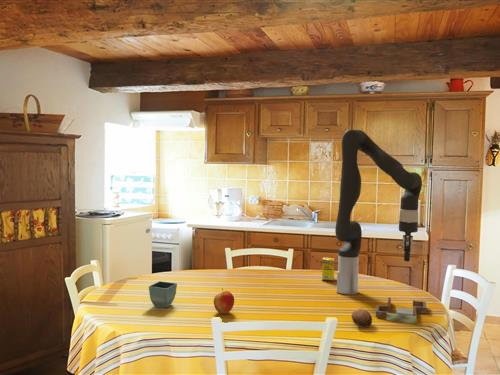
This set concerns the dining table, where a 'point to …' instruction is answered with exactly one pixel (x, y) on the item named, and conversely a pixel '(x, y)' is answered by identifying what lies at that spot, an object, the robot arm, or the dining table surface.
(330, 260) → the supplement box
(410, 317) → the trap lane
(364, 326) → the brown oval ball
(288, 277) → the dining table surface
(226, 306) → the apple
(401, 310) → the block
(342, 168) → the robot arm
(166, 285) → the flower pot
